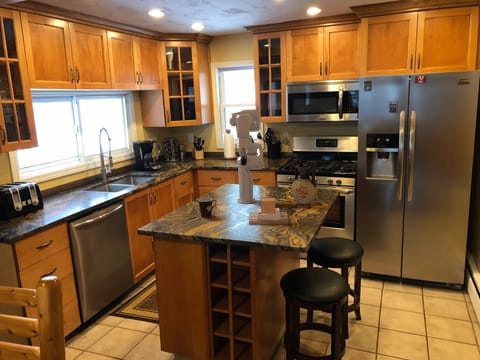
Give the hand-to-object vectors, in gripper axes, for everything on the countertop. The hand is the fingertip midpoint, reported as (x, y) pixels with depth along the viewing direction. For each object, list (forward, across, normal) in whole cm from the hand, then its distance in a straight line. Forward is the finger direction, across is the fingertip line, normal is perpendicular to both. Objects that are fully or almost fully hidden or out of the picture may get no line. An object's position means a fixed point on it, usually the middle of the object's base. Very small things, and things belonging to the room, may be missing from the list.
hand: (244, 163), depth 236 cm
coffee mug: (+30, +7, -22) cm, 38 cm away
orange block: (+27, +17, +14) cm, 35 cm away
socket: (+28, +17, +14) cm, 36 cm away
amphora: (+31, -13, +38) cm, 50 cm away
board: (+30, +17, +14) cm, 37 cm away
